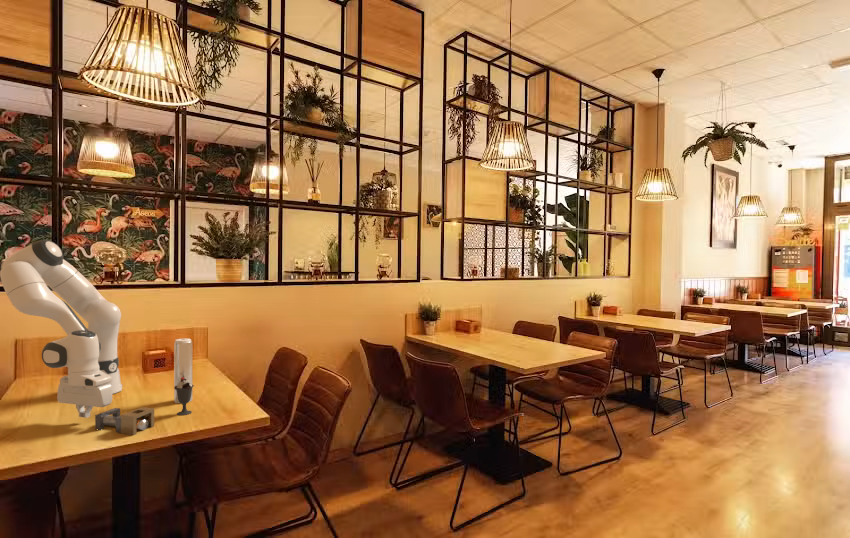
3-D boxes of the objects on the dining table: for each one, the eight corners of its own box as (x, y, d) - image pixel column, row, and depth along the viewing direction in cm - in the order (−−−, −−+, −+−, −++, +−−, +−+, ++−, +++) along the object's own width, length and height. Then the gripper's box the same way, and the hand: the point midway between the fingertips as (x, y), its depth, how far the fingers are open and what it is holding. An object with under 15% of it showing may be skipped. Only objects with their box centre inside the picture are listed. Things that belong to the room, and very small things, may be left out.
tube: (96, 424, 158) (99, 414, 159) (104, 425, 161) (107, 415, 162) (139, 429, 153) (142, 419, 155) (146, 430, 156) (150, 420, 158)
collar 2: (115, 432, 153) (115, 417, 153) (135, 424, 160) (135, 410, 160) (120, 433, 152) (120, 418, 152) (140, 425, 160) (140, 410, 160)
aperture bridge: (120, 433, 152) (120, 415, 152) (142, 424, 160) (142, 407, 160) (133, 435, 151) (133, 416, 151) (154, 426, 159) (154, 408, 159)
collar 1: (95, 429, 155) (95, 415, 155) (115, 422, 162) (115, 407, 162) (100, 430, 154) (100, 415, 154) (120, 422, 162) (120, 408, 162)
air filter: (184, 404, 183) (184, 341, 182) (170, 402, 184) (170, 340, 183) (196, 399, 189) (196, 338, 188) (182, 397, 190) (182, 337, 190)
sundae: (178, 410, 175) (178, 371, 175) (197, 410, 176) (197, 371, 175) (170, 416, 169) (170, 375, 168) (189, 416, 169) (189, 375, 169)
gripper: (51, 377, 160) (52, 417, 161) (99, 382, 155) (99, 422, 156) (69, 373, 166) (69, 411, 167) (115, 377, 162) (116, 416, 162)
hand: (84, 416), depth 161 cm, fingers closed
